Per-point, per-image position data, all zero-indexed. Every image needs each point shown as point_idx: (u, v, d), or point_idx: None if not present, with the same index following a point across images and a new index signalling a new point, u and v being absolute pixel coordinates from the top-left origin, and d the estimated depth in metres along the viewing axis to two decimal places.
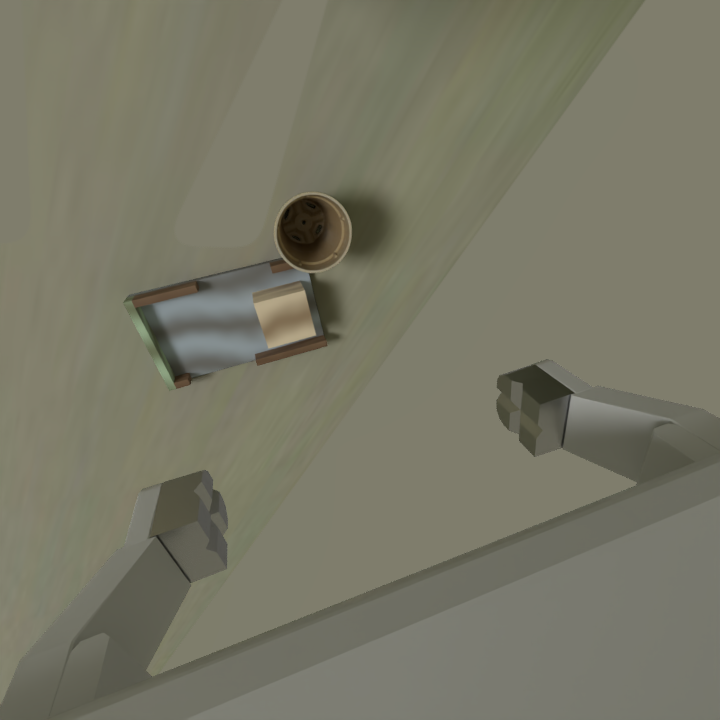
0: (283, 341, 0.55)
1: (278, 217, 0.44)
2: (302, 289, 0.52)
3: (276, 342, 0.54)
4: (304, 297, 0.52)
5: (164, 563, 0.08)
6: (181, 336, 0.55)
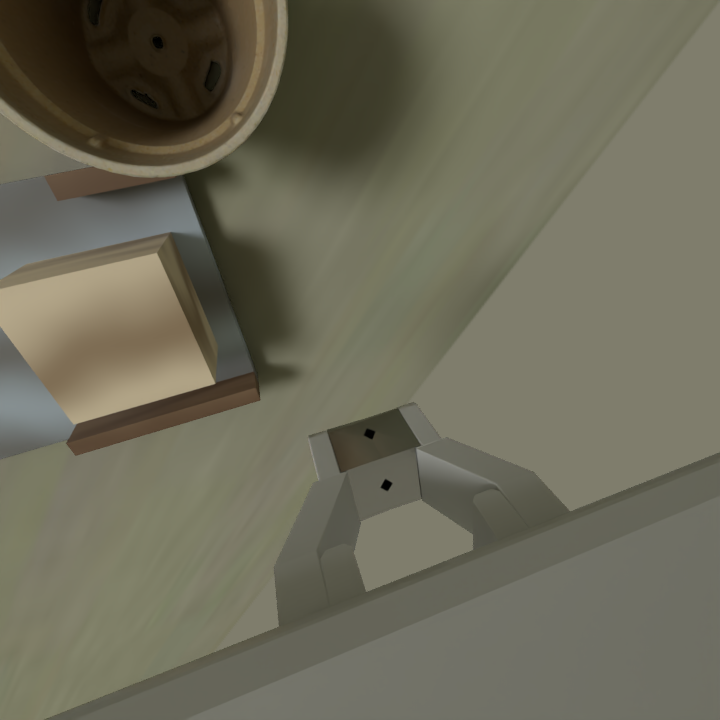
0: (115, 403, 0.19)
1: None
2: (153, 251, 0.17)
3: (95, 407, 0.19)
4: (160, 276, 0.17)
5: (349, 498, 0.09)
6: None
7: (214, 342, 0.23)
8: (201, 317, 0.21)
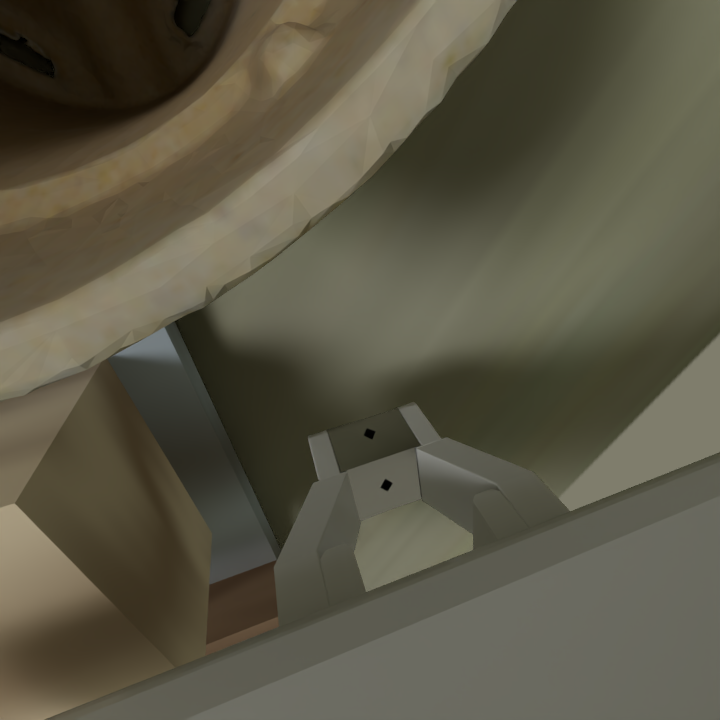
0: None
1: None
2: (15, 480, 0.06)
3: None
4: (36, 550, 0.06)
5: (349, 498, 0.09)
6: None
7: (204, 539, 0.12)
8: (176, 517, 0.10)
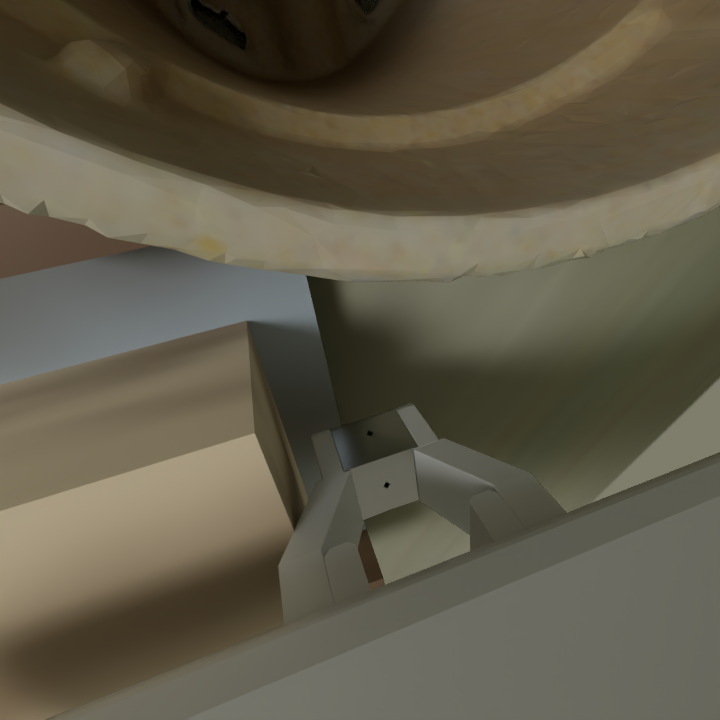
0: None
1: None
2: (239, 417, 0.06)
3: None
4: (256, 482, 0.06)
5: (353, 496, 0.09)
6: None
7: None
8: (297, 479, 0.11)
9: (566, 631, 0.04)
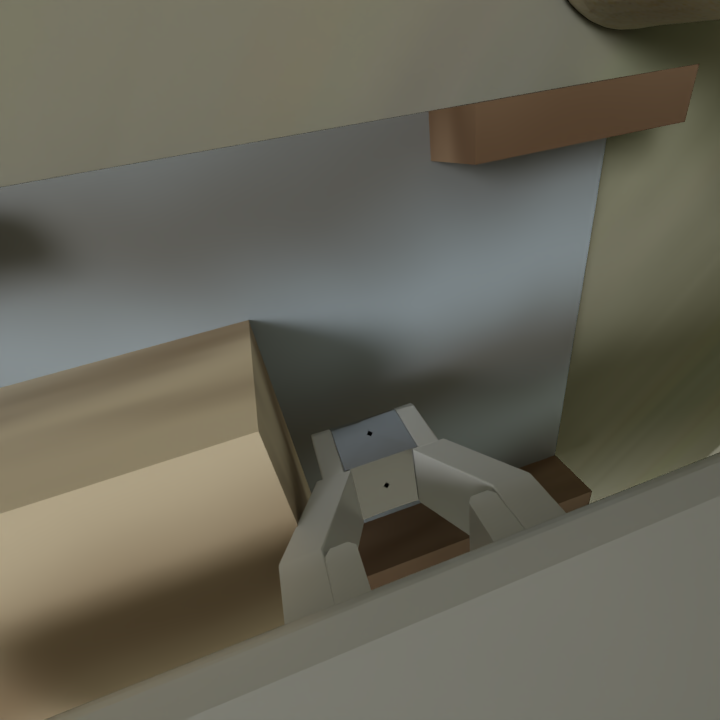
0: None
1: None
2: (243, 415, 0.06)
3: None
4: (260, 479, 0.06)
5: (353, 496, 0.09)
6: None
7: None
8: (300, 476, 0.11)
9: (566, 631, 0.04)
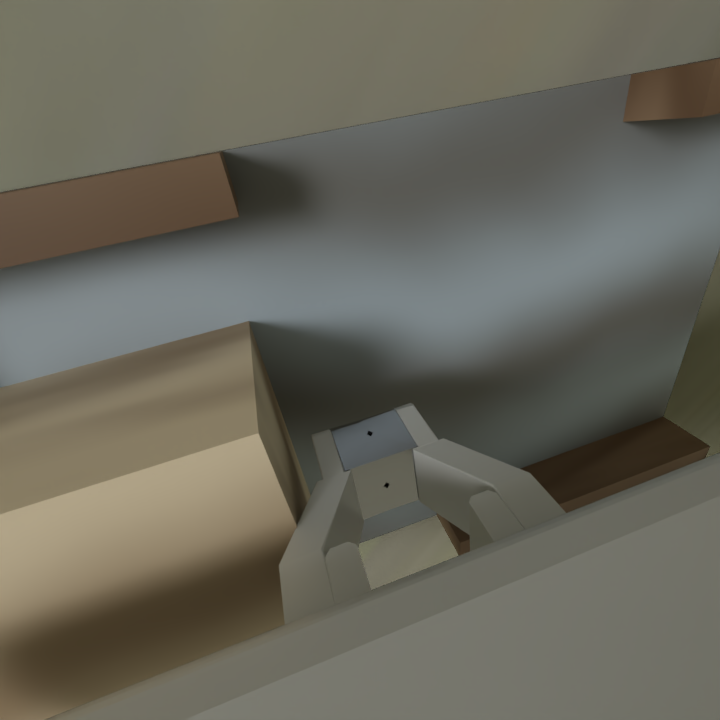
0: None
1: None
2: (243, 417, 0.06)
3: None
4: (260, 481, 0.06)
5: (353, 496, 0.09)
6: None
7: None
8: (300, 477, 0.11)
9: (566, 631, 0.04)
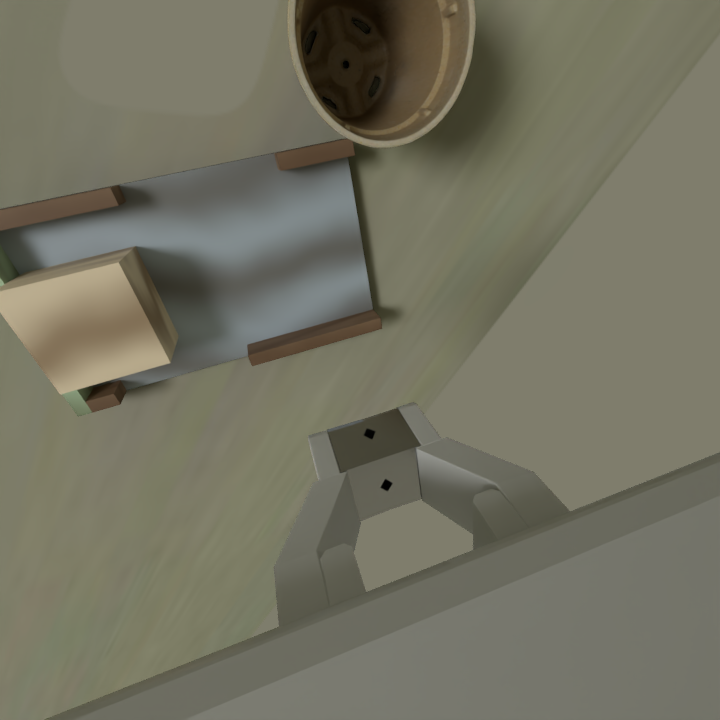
0: (92, 377, 0.25)
1: None
2: (116, 261, 0.23)
3: (76, 380, 0.25)
4: (122, 279, 0.23)
5: (349, 498, 0.09)
6: None
7: (174, 332, 0.29)
8: (161, 312, 0.27)
9: (566, 631, 0.04)
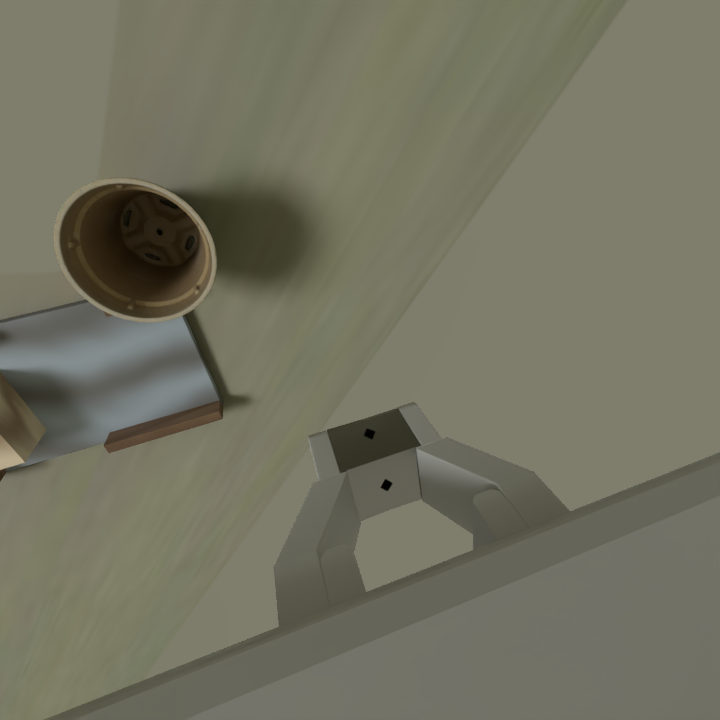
0: None
1: (57, 226, 0.23)
2: None
3: None
4: None
5: (349, 498, 0.09)
6: None
7: (40, 429, 0.36)
8: (24, 417, 0.34)
9: (566, 631, 0.04)
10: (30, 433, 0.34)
